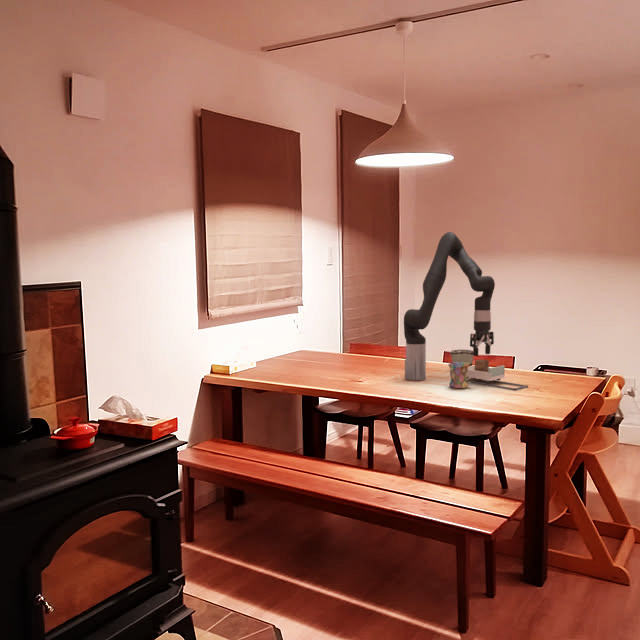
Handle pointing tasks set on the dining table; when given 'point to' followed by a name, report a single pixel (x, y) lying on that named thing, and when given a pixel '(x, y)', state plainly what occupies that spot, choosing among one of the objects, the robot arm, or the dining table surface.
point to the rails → (501, 386)
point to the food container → (462, 356)
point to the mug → (458, 374)
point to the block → (482, 365)
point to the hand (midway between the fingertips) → (481, 355)
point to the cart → (487, 373)
